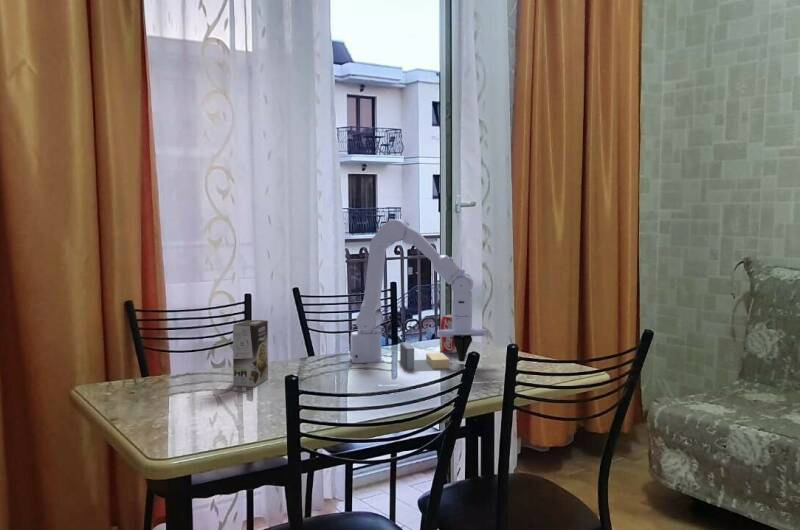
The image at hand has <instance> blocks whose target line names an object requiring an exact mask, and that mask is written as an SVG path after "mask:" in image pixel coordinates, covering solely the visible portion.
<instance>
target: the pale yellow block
mask: <svg viewBox="0 0 800 530" xmlns="http://www.w3.org/2000/svg"><path fill="white" fill-rule="evenodd" d="M425 354H426V355H425V357H426V359H425V360H426V362H427V363H428V364H429V365H430V367H431V368H432V369H435V368H449V367H450V359H449V358H448V356H446V355H445V354H444V352H434V353H433V352H431V353H430V352H427V353H425Z"/></svg>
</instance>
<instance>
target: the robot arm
mask: <svg viewBox="0 0 800 530" xmlns="http://www.w3.org/2000/svg"><path fill="white" fill-rule="evenodd" d="M400 241H402V243H404V244H410V245H413V246H414V247H416V249H417V250H418V251H419V252H421V253H422V254H423V255H424V256H425V257H426V258H427V259H428V260H429V261H431V262H432V266H433V267H432V269H433V270H434V271H435V273H437V275H438V276H440V277H441V278H442V279H443V280H444V281H445V283H447V284H448V285H451V286H450V287H451V291H452V292H453V297H452V314H451V315H452V329H445V330H441V329H437V331H436V336H437V338H438V339H439V338H440V339H441V337H452V340H453V342H454V344H455V347H456V350H457V353H456V354H457V357H458V358H457V359H458V361H459V362H465V360H466V357H467V356H466V355H467V353H468V350H469V347H470V345H471V344H472V342H473V337H484V338H486V337H487V335H488V334H487V332H488V331H487V329H485V328H472V327H473V326H472V325H473V299H472V298H473V293H472V290H473V287H474V281H473V278H472V277H471V275H470V274H468V273H465V272H466V270H464V269H462V268H461V267H459V266H458V265H457V264H456V262H454V260H455V259H454V258H453V257H452V256H448V255H447V254H444V255H442V254H440V253H439V252H438V250H437V249H436V248H435V247H433V245H432V244H431V243H430V242H429V241H428V239H426V238H425V236H423V234H422V233H421V232H420V231H419V230H418V229H416V228H415V227H414V226H413V225H410V223H409V222H408V221H407V220H406V219H403V218H398V219H391V220H388V221H387V222H385V223H383V224H381V226H380V227H379V230H378V231H377V232H376V233H375V234H374V236H373V237H372V239H371V240H370V241H369V242H370V243H369V249H368V250H369V251H368V257H367V258H368V259H367V269H366V275H365V287H364V295H363V300H362V303H361V305H360V309H359V313H358V315H357V316H356V319H355V325H356V327H357V331H351V332H350V350H349V356H350V360H351V362H352V364H367V363H384V362H385V359H383V356H382V329H381V324H382V323H383V320H384V315H383V312H382V301H381V297H382V288H383V279H384V272H385V263H386V262H385V260H386V253H387V249H388V248H390V247H391V246H393V245H395V243H397V242H400ZM456 334H460V335H456Z"/></svg>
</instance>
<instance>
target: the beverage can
mask: <svg viewBox="0 0 800 530" xmlns="http://www.w3.org/2000/svg"><path fill="white" fill-rule="evenodd" d="M452 315H453V314H452V313H451V314H442V317H441V319H440V330H445V329H452ZM456 335H460V334H456ZM440 351H441V352H442V353H445V354H457V350H456V347H455V344H454V342H453V340H452V337H441V338H440Z"/></svg>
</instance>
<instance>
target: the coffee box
mask: <svg viewBox="0 0 800 530" xmlns="http://www.w3.org/2000/svg"><path fill="white" fill-rule="evenodd" d="M268 324H269V321H268V320H265V319H264V320H262V319H253V320H249V319H246V320H244V321H241V322H238V323H236V324H233V325H232V367H233V368H232V374H233V375H232V380H233V381H232V383H233V384H232V386H237V387H248V388H249V387H250V388H256V387H257V386H258V385H259V386H260V384H262V383H264V382H266V381H267V380H268V379H269V339H268V337H269V331H268V330H269V329H268V328H269V325H268Z"/></svg>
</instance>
